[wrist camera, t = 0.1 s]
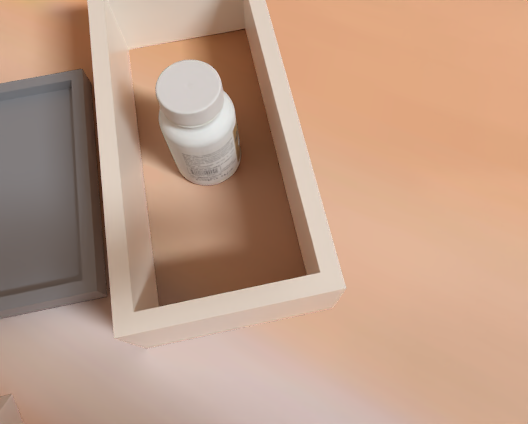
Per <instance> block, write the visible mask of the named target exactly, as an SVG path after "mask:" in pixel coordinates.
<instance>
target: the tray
mask: <svg viewBox="0 0 528 424" xmlns="http://www.w3.org/2000/svg"><path fill="white" fill-rule="evenodd" d="M103 297H107V288H106V275H105V262H104V248H103V235H102V222H101V209H100V195H99V182H98V169H97V156H96V142H95V129H94V116H93V102H92V89H91V82H90V81H89V79H88V77H87V76H86V74H85V72H84V71H83V69H78V70H72V71H67V72H61V73H56V74H50V75H45V76H39V77H34V78H28V79H23V80H17V81H12V82H6V83H1V84H0V319H2V318H7V317H12V316H17V315H21V314H26V313H31V312H36V311H41V310H45V309H50V308H55V307H60V306H64V305H69V304H74V303H79V302H83V301H88V300H93V299H98V298H103Z"/></svg>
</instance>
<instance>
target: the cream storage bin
mask: <svg viewBox="0 0 528 424" xmlns="http://www.w3.org/2000/svg"><path fill="white" fill-rule="evenodd" d="M87 1H88V14H89V27H90V40H91V53H92V65H93V78H94V91H95V104H96V116H97V129H98V142H99V155H100V167H101V180H102V193H103V206H104V218H105V231H106V244H107V257H108V269H109V282H110V295H111V308H112V321H113V333H114V339H117V340H121V341H124V342H127V343H130V344H133V345H136V346H139V347H142V348H145V349H148V348H153V347H157V346H162V345H167V344H171V343H176V342H181V341H185V340H190V339H194V338H199V337H204V336H208V335H213V334H217V333H222V332H227V331H231V330H236V329H240V328H245V327H250V326H254V325H259V324H264V323H268V322H273V321H277V320H282V319H287V318H291V317H296V316H300V315H305V314H310V313H314V312H319V311H324V310H328V309H333V307H334V306H335V304H336V303H337V301H338V300H339V299H340V297H341V296H342V294H343V293H344V291H345V290H346V285H345V282H344V278H343V275H342V271H341V268H340V264H339V260H338V257H337V253H336V250H335V246H334V243H333V239H332V236H331V232H330V228H329V225H328V221H327V218H326V214H325V211H324V207H323V204H322V200H321V196H320V193H319V189H318V186H317V182H316V179H315V175H314V172H313V168H312V164H311V161H310V157H309V154H308V150H307V147H306V143H305V140H304V136H303V132H302V129H301V125H300V122H299V118H298V115H297V111H296V108H295V104H294V100H293V97H292V93H291V90H290V86H289V83H288V79H287V76H286V72H285V68H284V65H283V61H282V58H281V54H280V51H279V47H278V43H277V40H276V36H275V33H274V29H273V26H272V22H271V19H270V15H269V11H268V8H267V4H266V1H265V0H87ZM240 29H245V30H246V34H247V38H248V42H249V46H250V50H251V54H252V58H253V62H254V66H255V70H256V74H257V78H258V82H259V86H260V90H261V94H262V98H263V102H264V106H265V110H266V114H267V118H268V122H269V126H270V130H271V134H272V138H273V142H274V146H275V150H276V154H277V158H278V162H279V166H280V170H281V174H282V178H283V182H284V186H285V190H286V194H287V198H288V202H289V206H290V210H291V214H292V218H293V222H294V226H295V230H296V234H297V238H298V242H299V246H300V250H301V254H302V258H303V262H304V266H305V270H306V274H307V275H306V276H302V277H297V278H292V279H287V280H283V281H278V282H273V283H269V284H264V285H259V286H254V287H250V288H245V289H240V290H236V291H231V292H226V293H221V294H217V295H212V296H207V297H203V298H198V299H193V300H188V301H184V302H179V303H174V304H170V305H165V306H160V307H159V301H158V293H157V284H156V276H155V268H154V259H153V251H152V242H151V234H150V225H149V217H148V209H147V200H146V192H145V183H144V175H143V166H142V158H141V150H140V141H139V133H138V124H137V116H136V107H135V99H134V91H133V82H132V74H131V65H130V57H129V50H130V49H135V48H141V47H146V46H152V45H157V44H163V43H168V42H174V41H180V40H185V39H191V38H196V37H202V36H207V35H213V34H218V33H224V32H229V31H235V30H240Z"/></svg>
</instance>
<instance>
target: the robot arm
mask: <svg viewBox="0 0 528 424" xmlns="http://www.w3.org/2000/svg"><path fill="white" fill-rule="evenodd" d="M0 424H24V423H23V420H22V418H21V415H20V413H19V410H18V408H17V405H16V402H15V400H14V397H13V395H12V394H9V395H4V396H0Z"/></svg>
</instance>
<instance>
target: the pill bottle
mask: <svg viewBox="0 0 528 424" xmlns="http://www.w3.org/2000/svg"><path fill="white" fill-rule="evenodd" d="M156 96H157V99H158V102H159V105H160V111H159V125H160V128H161V131H162V133H163V136H164V138H165V140H166V142H167V145H168V147H169V149H170V152H171V154H172V156H173V158H174V161H175V163H176V165H177V167H178V169H179V171H180V173H181V174H182V175H183V176H184V177H185V178H186V179H187V180H189V181H191V182H193V183H195V184H199V185H215V184H219V183H221V182H223V181H225V180H227V179H228V178H229V177H231V176H232V175H233V174H234V172H235V171H236V170H237V168H238V166H239V163H240V160H241V148H240V141H239V134H238V127H237V121H236V115H235V109H234V105H233V103H232V101H231V99H230V97H229V96H228V95H227V93H226V92H225V91H223V88H222V82H221V79H220V76H219V74H218V73H217V71H216V70H215V69H214V68H213V67H212V66H210V65H209V64H207V63H205V62H202V61H199V60H183V61H179V62H176V63H174V64H172V65H170V66H168V67H167V68H166V69H165V70H164V71H163V72H162V73H161V74H160V76H159V78H158V80H157V83H156Z"/></svg>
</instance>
